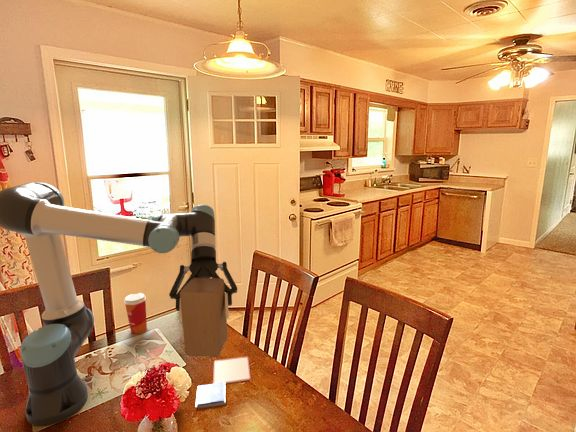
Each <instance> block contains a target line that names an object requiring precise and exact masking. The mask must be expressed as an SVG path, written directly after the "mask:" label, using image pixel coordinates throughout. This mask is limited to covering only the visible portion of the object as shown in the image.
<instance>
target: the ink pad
mask: <svg viewBox="0 0 576 432" xmlns="http://www.w3.org/2000/svg"><path fill="white" fill-rule="evenodd" d="M226 401H227V400H226V384H225V382H221V383H214V384H213V383H209V384H207V383H206V384H201V385H198V386H197V389H196V398H195V409H196V410H198V409H197V408H200V409H205V408H211V407H217V406H218V407H219V406H225V405H226Z"/></svg>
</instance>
